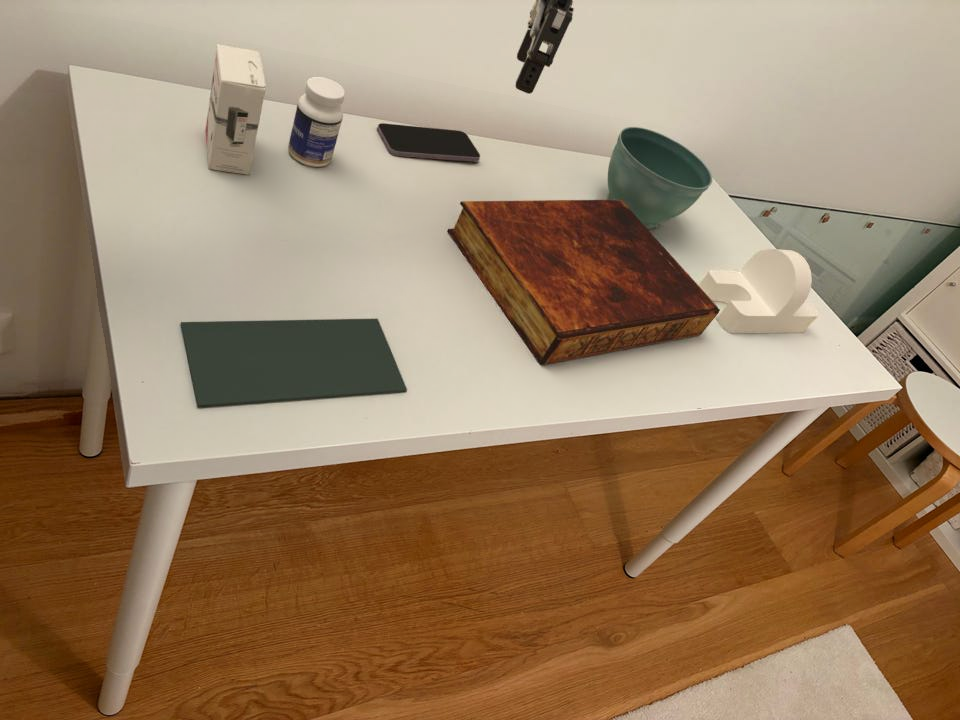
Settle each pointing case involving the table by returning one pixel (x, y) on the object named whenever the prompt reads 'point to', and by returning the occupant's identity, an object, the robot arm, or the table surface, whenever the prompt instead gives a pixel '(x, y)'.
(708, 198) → the table surface
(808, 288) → the white slotted holder
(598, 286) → the book
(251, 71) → the ink box
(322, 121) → the pill bottle
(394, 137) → the smartphone
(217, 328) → the mat
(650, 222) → the green bowl
